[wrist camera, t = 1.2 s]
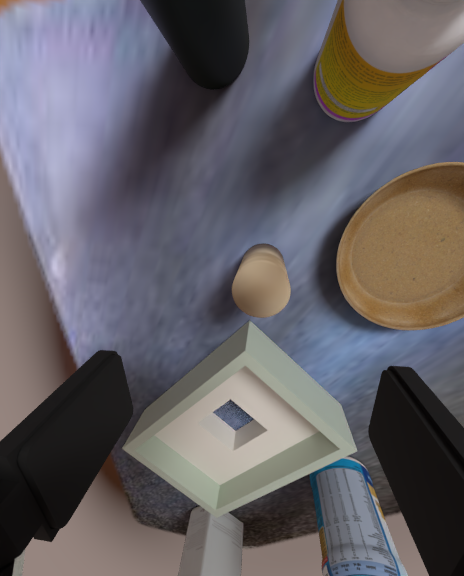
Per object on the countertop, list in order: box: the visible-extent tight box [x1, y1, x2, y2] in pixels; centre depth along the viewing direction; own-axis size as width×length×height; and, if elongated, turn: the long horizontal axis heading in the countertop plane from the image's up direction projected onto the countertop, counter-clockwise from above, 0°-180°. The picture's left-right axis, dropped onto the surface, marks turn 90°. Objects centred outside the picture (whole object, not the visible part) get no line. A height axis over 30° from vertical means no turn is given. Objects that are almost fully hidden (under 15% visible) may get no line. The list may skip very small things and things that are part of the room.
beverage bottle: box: [309, 456, 408, 576], centre depth 25 cm, size 8×8×20 cm
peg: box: [232, 244, 290, 318], centre depth 22 cm, size 4×4×8 cm
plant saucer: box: [336, 162, 464, 330], centre depth 22 cm, size 15×15×3 cm
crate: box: [122, 321, 357, 518], centre depth 30 cm, size 16×22×6 cm
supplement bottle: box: [313, 0, 464, 122], centre depth 13 cm, size 7×7×13 cm
